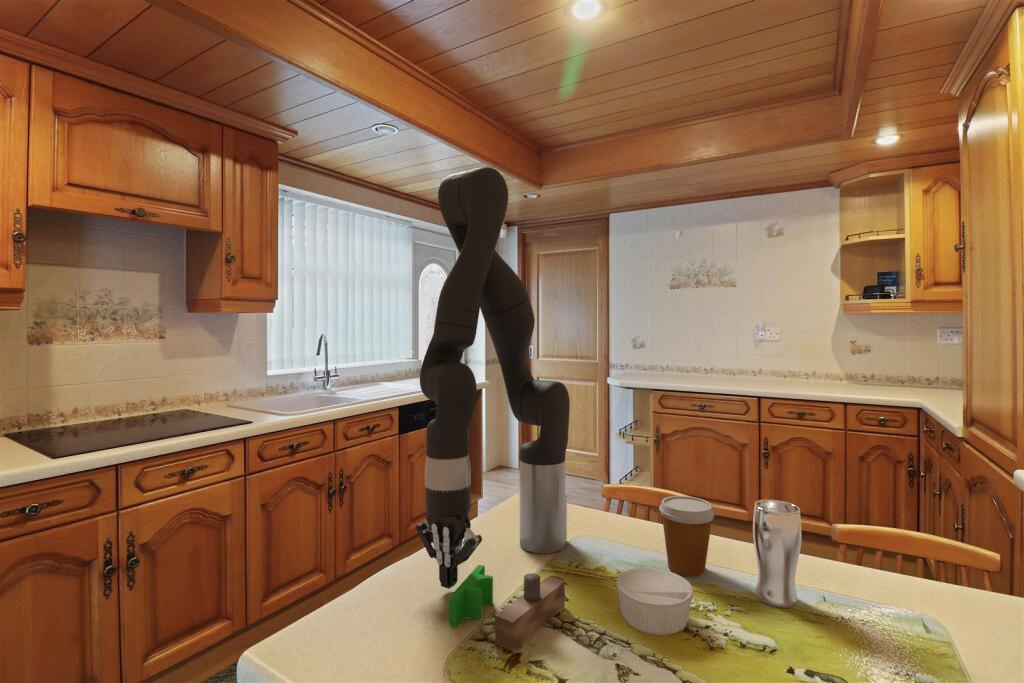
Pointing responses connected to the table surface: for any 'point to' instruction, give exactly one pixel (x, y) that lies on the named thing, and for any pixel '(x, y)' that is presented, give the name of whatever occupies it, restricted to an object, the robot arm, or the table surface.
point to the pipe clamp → (471, 597)
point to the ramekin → (654, 600)
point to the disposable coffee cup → (686, 533)
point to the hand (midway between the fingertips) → (448, 585)
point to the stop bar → (529, 611)
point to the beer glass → (777, 551)
